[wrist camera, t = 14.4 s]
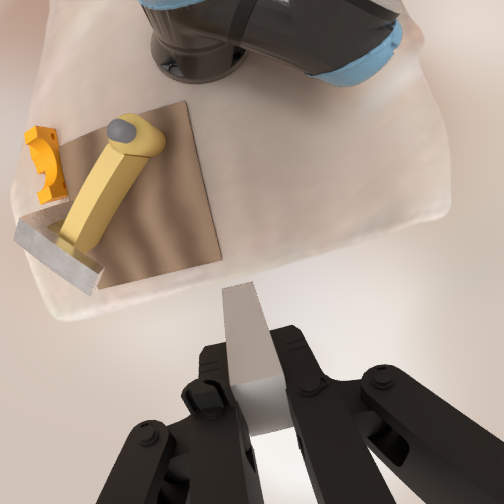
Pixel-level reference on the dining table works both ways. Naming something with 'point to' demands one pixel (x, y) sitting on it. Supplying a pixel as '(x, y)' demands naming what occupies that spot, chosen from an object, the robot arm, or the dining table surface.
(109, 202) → the hinged door
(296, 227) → the dining table surface
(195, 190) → the board
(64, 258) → the hook
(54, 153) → the pipe clamp
